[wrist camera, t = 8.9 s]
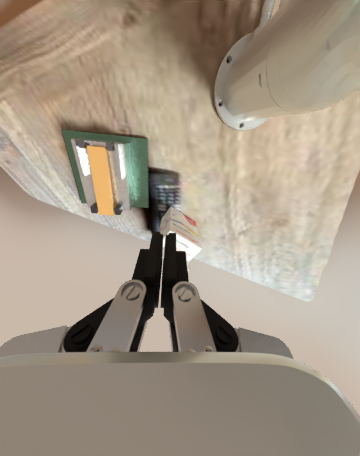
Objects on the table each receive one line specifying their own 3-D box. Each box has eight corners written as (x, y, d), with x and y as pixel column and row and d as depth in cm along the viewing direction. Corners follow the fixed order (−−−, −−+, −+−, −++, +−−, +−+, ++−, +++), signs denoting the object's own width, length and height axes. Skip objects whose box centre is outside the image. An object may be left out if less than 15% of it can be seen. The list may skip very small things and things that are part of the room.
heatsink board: (64, 129, 29) (37, 129, 24) (147, 138, 31) (141, 140, 25) (83, 201, 37) (67, 214, 32) (149, 206, 39) (144, 219, 33)
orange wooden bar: (88, 145, 26) (86, 145, 26) (106, 147, 27) (104, 147, 26) (100, 212, 33) (98, 214, 32) (114, 213, 33) (113, 215, 32)
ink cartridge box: (196, 221, 42) (205, 259, 29) (185, 233, 44) (190, 273, 31) (170, 204, 39) (169, 239, 26) (160, 218, 41) (154, 256, 29)
